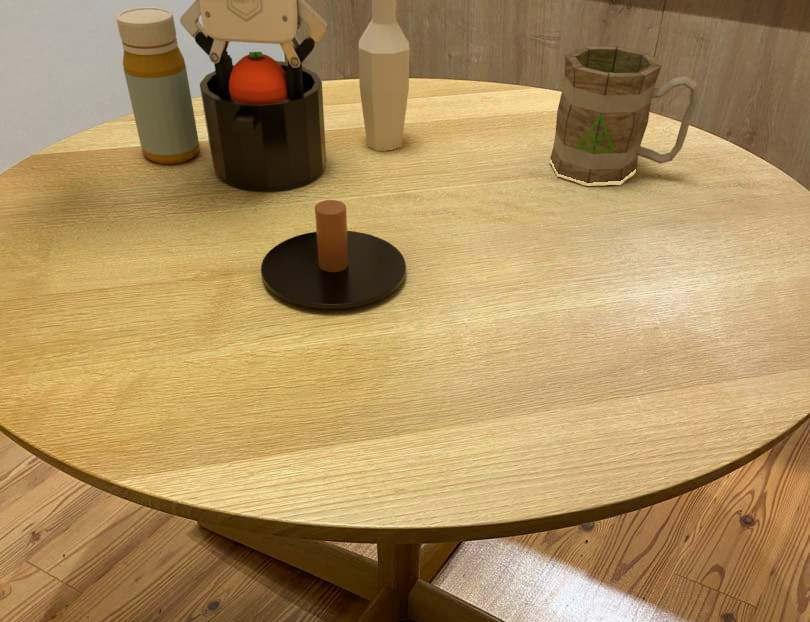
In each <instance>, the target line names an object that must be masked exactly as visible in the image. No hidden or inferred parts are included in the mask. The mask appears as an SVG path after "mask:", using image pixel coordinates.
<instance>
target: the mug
mask: <svg viewBox="0 0 810 622" xmlns="http://www.w3.org/2000/svg"><path fill="white" fill-rule="evenodd" d="M661 70H662V65H661V64H660V63H659V62H658V61H657V60H656V59H655V57H653V56H652V54H650V53H649V52H644V51H640V50H635V49H632V48H627V47H624V46H621V45H598V46H597V45H596V46H594V45H593V46H591V45H590V46H582V47H579V48H577V49H576V50H574V51H572V52H570V53H567V54H566V55H565V57H564V75H563V76H564V77H563V81H562V82H563V83H562V89H561V94H560V99H559V103H558V106H557V111H556V122H555V134H554V141H553V147H552V150H551V154H550V158H549V160H550V159H551V160H552V163H553V164H554V167H555V169H556V171H557V172H558V174H561V175H564V176H567V177H571V178H573V179H576V180H580V181H584V182H586V183H593V182H608V181H621V180H623V179H624V178H625V177H626V176H628V175H629V174H630V173H631V172H633V171H634V170H635V169H636V170H637V169H638V160H639V157H642V158H644V159H647V160H650V161H653V162H654V163H657V164H665V163H669V162H672V161H673V160H674V158H675V157H676V156H677V155H678V154H679V153H680V151H681V150H682V148H683V145H684V143H685V140H686V137H687V134H688V131H689V127H690V124H691V120H692V117H693V115H694V112H695V109H696V107H697V104H698V102H699V95H698V93H699V92H698V83H697V82H696V81H694V80H693V79H691V78H690V77H689V76H687V75H682V76H678V77H673V78H672V79H671V80H669V81H667V82H666V83H665V84H664V85H662V86H661V87H656V86H655V85H656V83H657V81H658V77H659V75H660V72H661ZM680 86H684V87H686V88H688V89H690V95H689V96H690V97H689V103H688V104H687V108H686V110H685V112H684V115H683V117H682V119H681V123H680V126H679V129H678V130H679V131H678V133H677V134H678V135H677V136H676V140H675V145H674V146H673V147H672V149H671V150H670V151H669V152H666V153H662V154H661V153H659V152H657V151H655V150H653V149H651V148H647V147H644V146H642V142H643V139H644V135H645V133H646V130H647V127H648V123H649V119H650V110H651V103H652V100H653V99H660V98H662V97H664V96H666V95H668V93H669V92H671V91H672V90H674V89H675V88H677V87H680Z"/></svg>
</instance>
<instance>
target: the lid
mask: <svg viewBox="0 0 810 622" xmlns="http://www.w3.org/2000/svg"><path fill="white" fill-rule="evenodd" d="M314 214H315V216H314V217H315V229H316V230H315V231H312V232H306V233H303V234H299V235H296V236H292V237H290V238H288V239H285V240H283V241H281V242H280V243H278V244H277V245H274V246H273V247H272V248H271V249H270V250H269V251H268V252H267V253H266V254H265V255H264V257H263V259H262V262H261V264H260V265H261V266H260V274H261V278H262V281H263V283H264V285H265V287H267V289H268V290H269V291H271V292H272V293H273V294H274V295H276V296H277V297H278V298H280V299H282V300H284V301H286V302H289V303H292V304H293V305H294V304H295V305H298V306H302V307H307V308H311V309H321V310H322V309H323V310H339V309H351V308H356V307H362V306H366V305H368V304H372V303H375V302H378V301H380V300H382V299H384V298H386V297H387V296H389V295H391V294H392V293H393V292H394V291H396V290H397V289H398V288H399V287H400V286H401V284H402V283H403V281H404V280H405V277H406V272H407V271H406V270H407V264H406V260H405V258H404V256H403V254H402V252H401V251H400V250H399V249H398V248H397V247H396V246H395V245H393V244H391V242H389V241H387V240H385V239H383V238H380V237H378V236H375V235H372V234H369V233H364V232H361V231H360V232H359V231H354V230H348V217H347V216H348V215H347V205H346V204H345V203H344V202H343V201H340V200H336V199H326V200H322V201H319V202H318V203H316V204H315V206H314Z"/></svg>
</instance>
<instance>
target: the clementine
mask: <svg viewBox="0 0 810 622" xmlns="http://www.w3.org/2000/svg"><path fill="white" fill-rule="evenodd" d="M277 61H278V60H275V59H274V58H272V57H271V56H269V55H267V54H263V52H262V51H249V53H248V54H247V55H246V54H245V56H244V55H243V57H242V58H240V59H239V60H238V61H237V62H236V63H234V65H235V66H234V68H233V69H232V71H231V75H230V79H229V93H230V97H231V100H232V101H236V102H251V103H264V102H275V101H283V100H287V99H288V94H287V82H286V73H285V71H284V69H283V68H282V67H281V66H280V64H279V63H278V62H277Z"/></svg>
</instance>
